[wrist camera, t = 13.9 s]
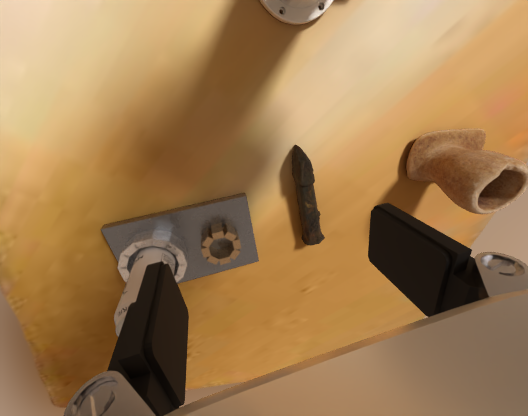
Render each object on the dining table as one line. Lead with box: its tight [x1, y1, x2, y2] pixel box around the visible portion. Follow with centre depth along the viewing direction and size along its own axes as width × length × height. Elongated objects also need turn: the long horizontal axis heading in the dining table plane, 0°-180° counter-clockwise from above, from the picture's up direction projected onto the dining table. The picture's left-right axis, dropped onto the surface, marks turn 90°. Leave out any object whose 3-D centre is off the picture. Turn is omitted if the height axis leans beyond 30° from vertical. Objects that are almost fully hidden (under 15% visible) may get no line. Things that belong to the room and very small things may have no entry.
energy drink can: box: [114, 246, 176, 337], centre depth 34 cm, size 6×6×15 cm
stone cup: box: [406, 129, 528, 214], centre depth 42 cm, size 15×12×15 cm
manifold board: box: [101, 193, 259, 284], centre depth 41 cm, size 23×14×4 cm, turn 98°
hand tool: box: [292, 145, 325, 245], centre depth 43 cm, size 19×4×5 cm, turn 11°
